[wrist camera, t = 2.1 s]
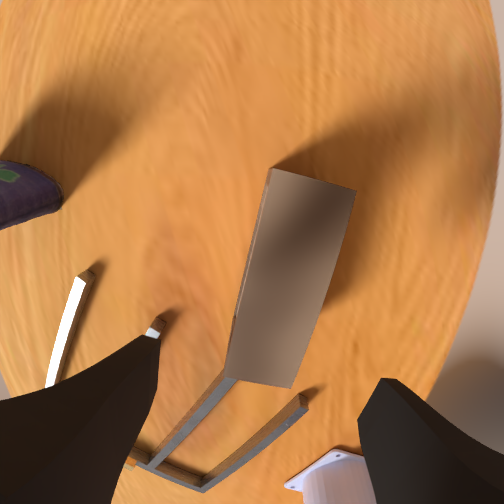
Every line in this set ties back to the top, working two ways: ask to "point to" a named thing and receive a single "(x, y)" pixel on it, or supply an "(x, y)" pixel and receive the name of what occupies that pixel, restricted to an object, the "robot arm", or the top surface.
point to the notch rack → (189, 421)
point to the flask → (26, 193)
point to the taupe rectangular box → (286, 276)
